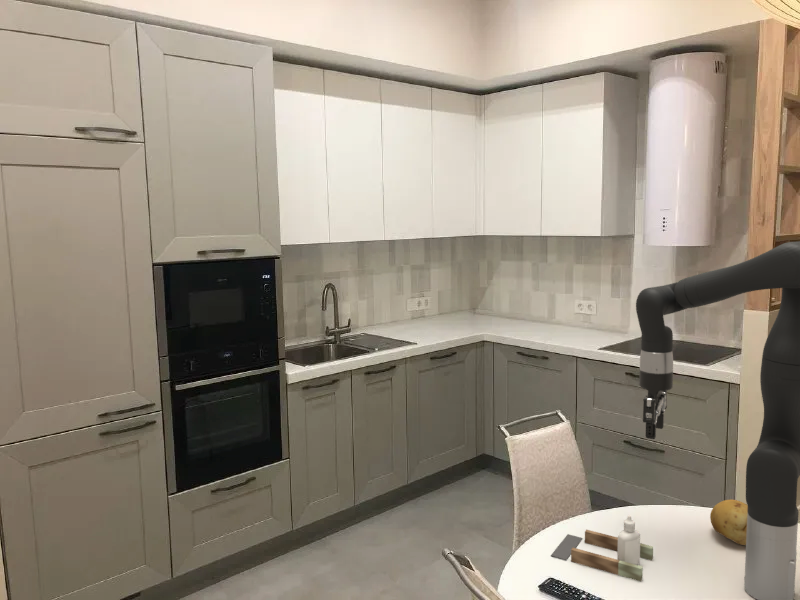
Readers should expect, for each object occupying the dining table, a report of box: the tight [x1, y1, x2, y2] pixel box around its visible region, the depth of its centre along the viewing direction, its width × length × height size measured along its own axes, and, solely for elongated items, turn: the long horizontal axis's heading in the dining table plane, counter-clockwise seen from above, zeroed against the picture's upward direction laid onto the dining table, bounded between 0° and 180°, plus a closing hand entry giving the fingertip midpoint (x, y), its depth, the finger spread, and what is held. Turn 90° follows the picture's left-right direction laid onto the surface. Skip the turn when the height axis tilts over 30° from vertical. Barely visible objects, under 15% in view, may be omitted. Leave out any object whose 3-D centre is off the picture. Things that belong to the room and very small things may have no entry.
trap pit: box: [550, 533, 583, 562], centre depth 156 cm, size 4×12×1 cm, turn 146°
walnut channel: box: [570, 529, 654, 582], centre depth 149 cm, size 16×11×3 cm
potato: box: [709, 499, 748, 546], centre depth 157 cm, size 10×12×10 cm
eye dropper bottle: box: [616, 514, 641, 565], centre depth 147 cm, size 4×6×12 cm
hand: (654, 433), depth 154 cm, fingers open, 8 cm apart
